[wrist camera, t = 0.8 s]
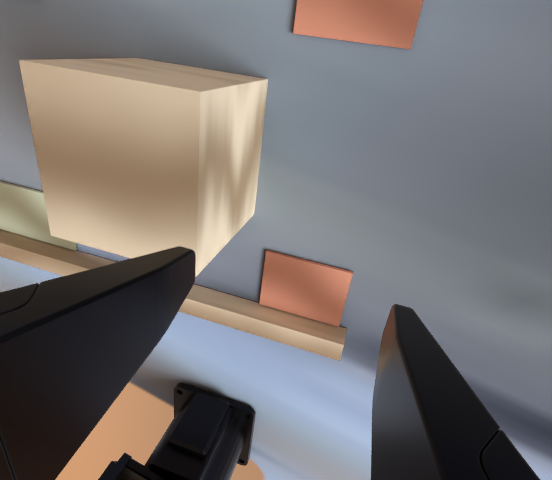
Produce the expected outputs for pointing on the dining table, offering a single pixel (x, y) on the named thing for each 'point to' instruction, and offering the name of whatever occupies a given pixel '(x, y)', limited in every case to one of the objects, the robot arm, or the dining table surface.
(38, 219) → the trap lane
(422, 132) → the dining table surface
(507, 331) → the dining table surface
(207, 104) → the maple block
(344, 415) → the dining table surface
